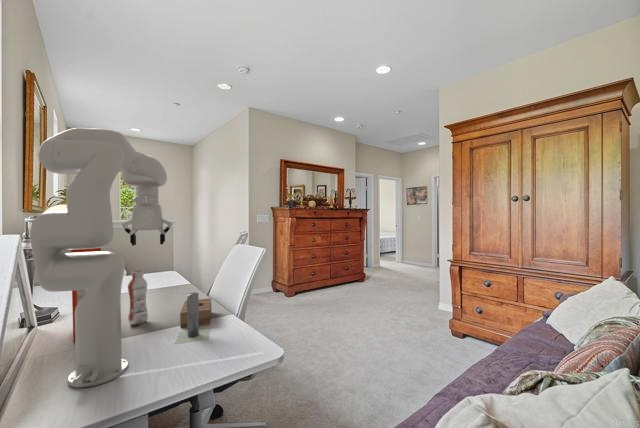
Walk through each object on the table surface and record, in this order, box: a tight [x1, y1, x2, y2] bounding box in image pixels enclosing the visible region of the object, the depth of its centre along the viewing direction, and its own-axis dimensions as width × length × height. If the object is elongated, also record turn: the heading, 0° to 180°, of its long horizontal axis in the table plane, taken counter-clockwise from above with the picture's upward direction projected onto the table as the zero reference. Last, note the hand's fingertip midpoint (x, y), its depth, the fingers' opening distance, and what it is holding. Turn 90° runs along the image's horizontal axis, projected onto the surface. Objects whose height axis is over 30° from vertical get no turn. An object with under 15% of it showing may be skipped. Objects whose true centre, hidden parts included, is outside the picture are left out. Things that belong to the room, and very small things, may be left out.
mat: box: [174, 328, 211, 345], centre depth 99 cm, size 10×10×1 cm
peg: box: [186, 292, 200, 338], centre depth 99 cm, size 4×4×14 cm
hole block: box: [179, 297, 212, 329], centre depth 115 cm, size 16×10×6 cm, turn 19°
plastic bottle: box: [127, 270, 149, 326], centre depth 112 cm, size 6×7×20 cm
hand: (148, 244), depth 116 cm, fingers open, 9 cm apart
